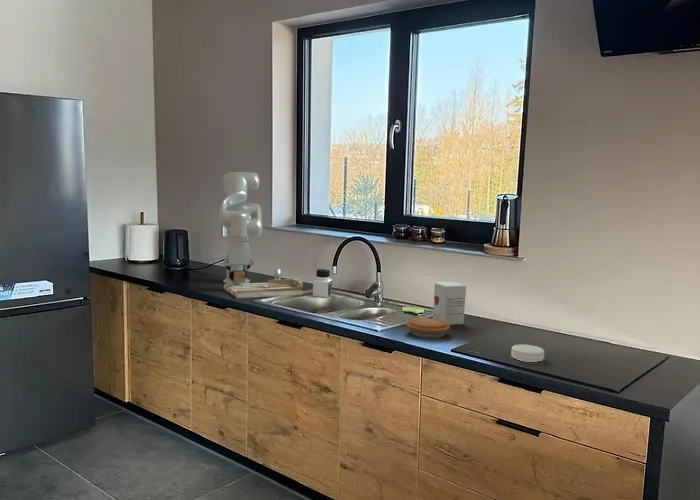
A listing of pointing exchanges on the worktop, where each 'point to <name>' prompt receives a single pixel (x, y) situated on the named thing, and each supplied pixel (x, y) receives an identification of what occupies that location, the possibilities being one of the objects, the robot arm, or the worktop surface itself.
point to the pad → (237, 285)
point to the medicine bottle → (322, 283)
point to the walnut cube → (238, 276)
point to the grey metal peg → (277, 274)
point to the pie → (427, 327)
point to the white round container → (527, 353)
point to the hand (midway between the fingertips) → (237, 279)
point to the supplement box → (449, 302)
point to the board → (268, 289)
